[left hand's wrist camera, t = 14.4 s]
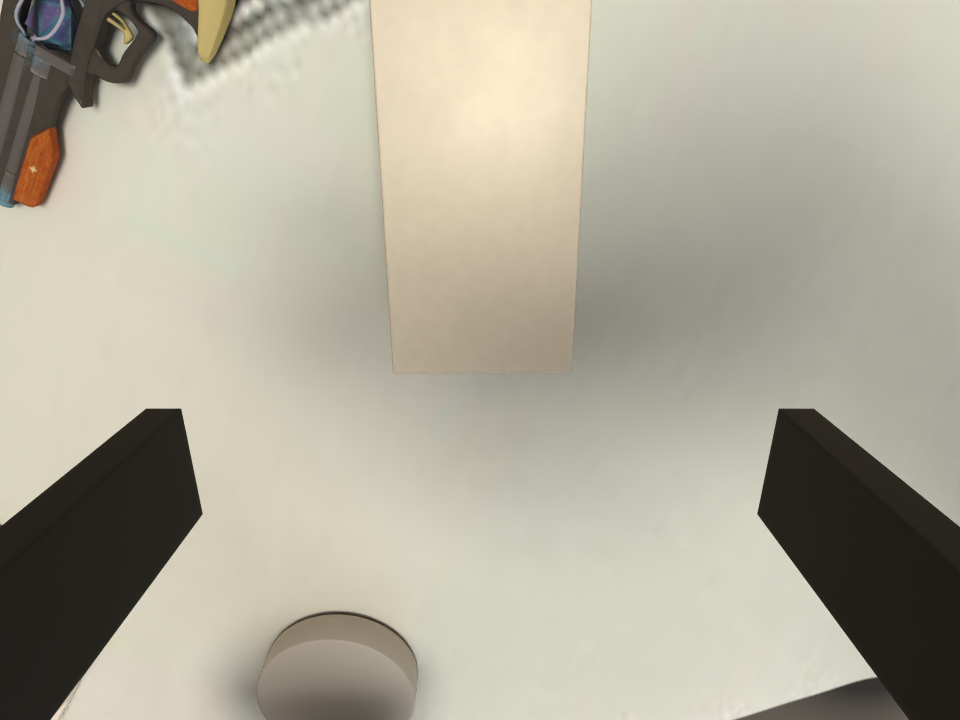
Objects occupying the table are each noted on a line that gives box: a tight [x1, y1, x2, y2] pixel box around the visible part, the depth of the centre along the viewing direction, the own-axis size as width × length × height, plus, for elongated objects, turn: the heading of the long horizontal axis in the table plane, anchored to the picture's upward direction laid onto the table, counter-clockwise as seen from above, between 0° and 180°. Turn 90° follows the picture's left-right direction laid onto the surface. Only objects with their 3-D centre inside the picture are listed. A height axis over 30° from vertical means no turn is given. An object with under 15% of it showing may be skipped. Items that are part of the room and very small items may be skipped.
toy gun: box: [0, 0, 236, 208], centre depth 32 cm, size 3×19×10 cm
